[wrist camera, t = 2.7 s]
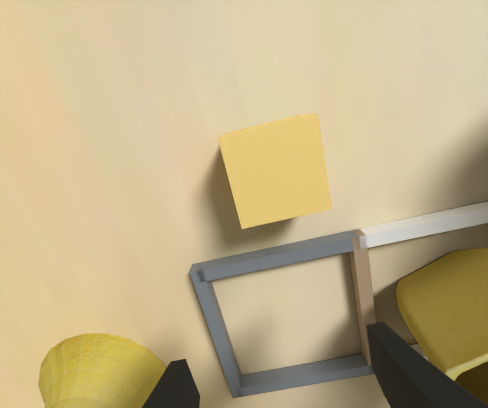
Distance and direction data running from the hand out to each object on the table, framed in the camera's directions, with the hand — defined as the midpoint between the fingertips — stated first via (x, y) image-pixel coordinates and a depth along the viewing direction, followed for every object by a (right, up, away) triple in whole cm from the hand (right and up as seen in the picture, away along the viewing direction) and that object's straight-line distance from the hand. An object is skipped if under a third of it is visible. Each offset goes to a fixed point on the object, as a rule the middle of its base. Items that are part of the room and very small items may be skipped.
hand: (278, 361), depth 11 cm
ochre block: (0, +9, +8) cm, 12 cm away
